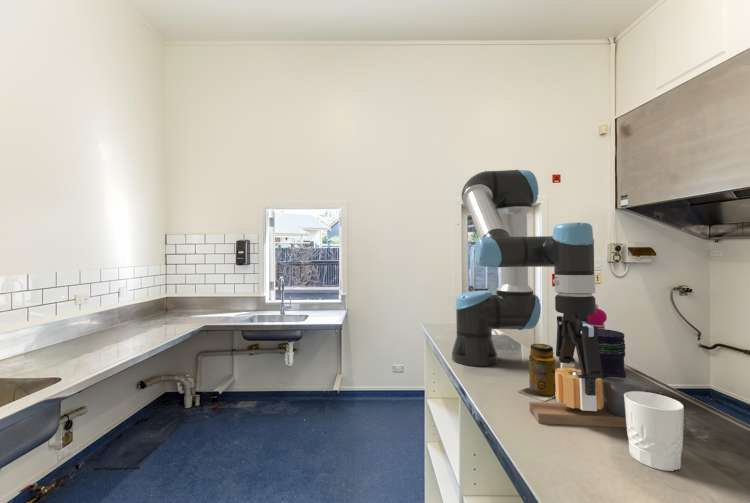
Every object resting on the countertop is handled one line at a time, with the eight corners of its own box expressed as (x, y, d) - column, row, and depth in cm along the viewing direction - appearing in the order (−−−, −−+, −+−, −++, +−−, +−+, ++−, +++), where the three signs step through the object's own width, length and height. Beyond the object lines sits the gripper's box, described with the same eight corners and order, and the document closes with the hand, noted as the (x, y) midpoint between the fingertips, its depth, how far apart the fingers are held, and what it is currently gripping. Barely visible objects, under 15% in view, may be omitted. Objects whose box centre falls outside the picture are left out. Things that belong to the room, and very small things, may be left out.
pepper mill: (584, 362, 112) (582, 301, 113) (610, 365, 108) (608, 302, 108) (582, 367, 106) (580, 303, 107) (610, 372, 102) (608, 305, 102)
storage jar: (608, 399, 82) (606, 337, 82) (572, 385, 91) (570, 330, 92) (636, 393, 85) (634, 334, 86) (599, 381, 94) (597, 327, 95)
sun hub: (597, 403, 75) (596, 376, 75) (631, 405, 74) (630, 377, 74) (615, 418, 68) (614, 388, 68) (653, 419, 67) (652, 389, 67)
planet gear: (590, 394, 76) (589, 367, 76) (611, 411, 67) (610, 381, 68) (549, 393, 77) (549, 366, 77) (565, 409, 68) (564, 379, 69)
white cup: (614, 448, 61) (612, 392, 61) (654, 445, 62) (653, 390, 62) (654, 475, 53) (651, 411, 53) (699, 472, 54) (697, 408, 54)
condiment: (563, 394, 86) (562, 346, 86) (544, 402, 81) (543, 351, 81) (536, 385, 92) (535, 341, 92) (517, 392, 87) (516, 345, 88)
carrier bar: (529, 410, 76) (529, 401, 76) (635, 415, 73) (635, 406, 74) (538, 423, 70) (538, 413, 70) (654, 429, 68) (654, 418, 68)
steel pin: (570, 407, 73) (569, 369, 74) (580, 407, 73) (579, 370, 73) (574, 411, 71) (573, 372, 72) (585, 411, 71) (584, 373, 71)
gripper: (539, 290, 84) (541, 382, 83) (579, 299, 63) (582, 423, 62) (571, 290, 83) (574, 383, 82) (622, 300, 62) (627, 425, 61)
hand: (577, 400), depth 72 cm, fingers closed on planet gear, 9 cm apart
